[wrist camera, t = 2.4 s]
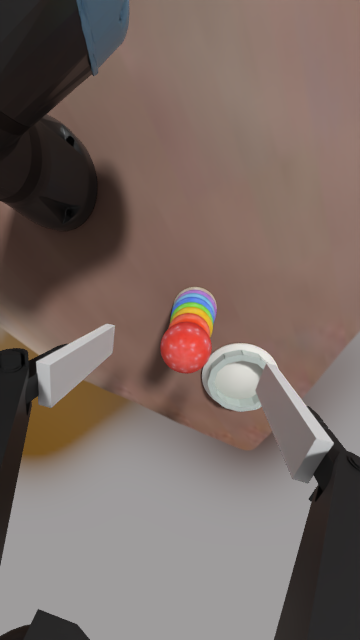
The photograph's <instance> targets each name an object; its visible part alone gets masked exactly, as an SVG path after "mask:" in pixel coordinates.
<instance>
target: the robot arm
mask: <svg viewBox="0 0 360 640" xmlns="http://www.w3.org/2000/svg"><path fill="white" fill-rule="evenodd" d="M128 24H129V0H0V201H2V202H4V203H5V204H7V205H8V206H10V207H12V208H13V209H15V210H16V211H18V212H19V213H21V214H22V215H24V216H25V217H27V218H28V219H30V220H31V221H33V222H35V223H36V224H38V225H41V226H43V227H46V228H50V229H54V230H59V231H68V230H72V229H75V228H77V227H79V226H80V225H81V224H83V223H84V222H85V221H86V220H87V218H88V217H89V216H90V214H91V212H92V210H93V208H94V205H95V201H96V196H97V177H96V172H95V168H94V164H93V162H92V159H91V157H90V155H89V153H88V151H87V149H86V148H85V146H84V145H83V144H82V142H81V141H80V140H79V139H78V138H77V137H76V136H75V135H74V134H73V133H72V132H71V131H70V130H69V129H68V128H67V127H66V126H65V125H63V124H62V123H61V122H60V121H58V120H56V119H55V118H53V117H51V116H49V115H47V113H48V112H49V111H50V110H51V109H53V108H54V107H55V106H56V105H57V104H58V103H59V102H60V101H62V100H63V99H64V98H65V97H66V96H67V95H68V94H69V93H71V92H72V91H73V90H74V89H75V88H76V87H77V86H78V85H80V84H81V83H82V82H83V81H84V80H86V79H87V78H88V77H89V76H90V75H93V76H95V75H97V73H98V68H99V67H100V66H101V65H102V64H103V63H104V62H105V61H106V59H107V58H108V57H109V56H110V55H111V54H112V53H113V52H114V51H115V50H116V49H117V48H118V47H119V46H120V45H121V44H122V42H123V41H124V39H125V36H126V33H127V30H128ZM114 331H115V325H111V324H105V325H103V326H101V327H100V328H98V329H96V330H94V331H92V332H90V333H88V334H87V335H85V336H83V337H81V338H79V339H77V340H75V341H74V342H72V343H70V344H64V345H60V346H57V347H55V348H53V349H51V350H49V351H47V352H45V353H43V354H41V355H39V356H37V357H35V358H34V359H32V360H30V361H28V352H27V350H25V349H20V348H13V349H6V350H2V351H0V564H1V558H2V554H3V549H4V544H5V538H6V533H7V528H8V523H9V518H10V513H11V508H12V503H13V498H14V493H15V488H16V482H17V478H18V473H19V468H20V463H21V457H22V452H23V447H24V442H25V437H26V432H27V427H28V422H29V417H30V411H31V407H32V402H31V401H32V400H33V399H34V398H36V397H37V396H38V402H39V405H43V406H47V407H50V408H51V407H53V406H54V405H55V404H56V403H57V402H58V401H59V400H61V399H62V398H63V397H64V396H65V395H66V394H67V393H68V392H69V391H70V390H72V389H73V388H74V387H75V386H76V385H77V384H79V383H80V382H81V381H82V380H83V379H84V378H85V377H86V376H87V375H89V374H90V373H91V372H92V371H93V370H94V369H95V368H96V367H98V366H99V365H100V364H101V363H102V362H103V361H104V360H105V359H107V358H108V357H109V356H110V355H111V354H112V353H113V342H114ZM255 391H256V394H257V396H258V398H259V401H260V403H261V405H262V408H263V410H264V413H265V415H266V417H267V420H268V422H269V425H270V427H271V429H272V432H273V434H274V436H275V439H276V441H277V443H278V446H279V448H280V451H281V453H282V455H283V458H284V460H285V462H286V465H287V467H288V470H289V472H290V475H291V477H292V479H295V480H298V481H302V482H305V483H309V481H310V480H311V478H312V477H313V475H314V476H315V478H316V480H317V482H318V486H317V487H316V489H315V490H314V492H313V493H312V495H311V496H310V498H309V500H310V501H312V503H311V507H310V510H309V514H308V517H307V521H306V525H305V528H304V532H303V536H302V540H301V543H300V547H299V550H298V554H297V558H296V561H295V565H294V568H293V572H292V576H291V580H290V583H289V587H288V591H287V594H286V598H285V602H284V605H283V609H282V613H281V616H280V620H279V623H278V627H277V631H276V635H275V638H274V640H360V457H359V456H357V455H355V454H353V453H351V452H348V451H346V449H345V448H344V447H343V446H342V444H341V443H340V442H339V441H338V439H337V438H336V437H335V435H334V434H333V433H332V432H331V430H330V429H328V427H327V425H326V424H325V423H323V420H322V419H321V418H320V416H319V415H318V414H317V413H316V412H315V411H314V410H312V409H311V408H310V407H309V406H306V405H305V404H304V402H303V401H302V400H301V398H300V397H299V396H298V394H297V393H296V392H295V390H294V389H293V388H292V386H291V385H290V384H289V382H288V381H287V380H286V378H285V377H284V376H283V374H282V373H281V372H280V370H279V369H278V368H277V366H276V365H272V364H268V363H266V365H265V367H264V370H263V372H262V375H261V377H260V380H259V382H258V385H257V387H256V390H255ZM0 640H90V639H89V638H88V637H87V636H86V635H85V633H84V632H83V631H82V630H81V629H80V627H79V626H78V625H77V624H75V623H72V622H70V621H67V620H64V619H62V618H59V617H57V616H54V615H52V614H49V613H47V612H44V611H42V610H39V609H38V611H37V612H36V615H35V617H34V619H33V621H32V623H31V624H30V625H25V626H22V627H19V628H16V629H13V630H11V631H9V632H7V633H5V634H3V635H1V636H0Z"/></svg>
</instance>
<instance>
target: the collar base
mask: <svg viewBox="0 0 360 640" xmlns="http://www.w3.org/2000/svg"><path fill="white" fill-rule="evenodd" d="M266 363H268V364H272V365H276V366H277V364H276V362H275V361H274V359H273V358H272V357H271V356H270V354H269V353H267V352H266V351H265V350H263V349H262V348H260V347H258V346H255V345H252V344H247V343H233V344H228V345H225V346H223V347H220V348H219V349H217V350H216V351H214V352H213V353H212V354H211V355H210V358H209V360H208V362H207V363H206V364H205V365H204V366H203V370H202V382H203V385H204V388H205V390H206V391H207V393H208V394H209V396H210V397H211V398H212V399H214V400H215V401H216V402H218V403H219V404H220V405H222V406H223V407H224V408H227V409H231V410H235V411H239V412H240V411H241V412H243V411H250V410H256V408H257V409H259V408H260V407H261V406H262V405H261V403H260V401H259V398H258V396H257V394H256V391H255V390H256V387H257V385H258V382H259V380H260V377H261V375H262V372H263V370H264V367H265V365H266ZM277 368H278V366H277Z"/></svg>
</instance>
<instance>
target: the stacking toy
mask: <svg viewBox="0 0 360 640" xmlns="http://www.w3.org/2000/svg"><path fill="white" fill-rule="evenodd" d="M216 313H217V305H216V301H215V299H214V297H213V295H212V294H211V293H210V292H209V291H207V290H205V289H203V288H200V287H190V288H187V289H185V290H183V291H182V292H180V293H179V294H178V296H177V297H176V299H175V301H174V305H173V308H172V312H171V319H170V325H169V328H168V330H167V331H166V332H165V333H164V335H163V337H162V340H161V345H160V349H161V355H162V358H163V360H164V362H165V363H166V364H167V365H168V366H169V367H170V368H171V369H173V370H174V371H177V372H180V373H193V372H196V371H198V370H199V369H201V368H202V367H203V366H204V365H205V364H206V363H207V362H208V360H209V358H210V355H211V349H212V347H211V340H210V337H211V334H212V331H213V323H214V320H215V318H216Z"/></svg>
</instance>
